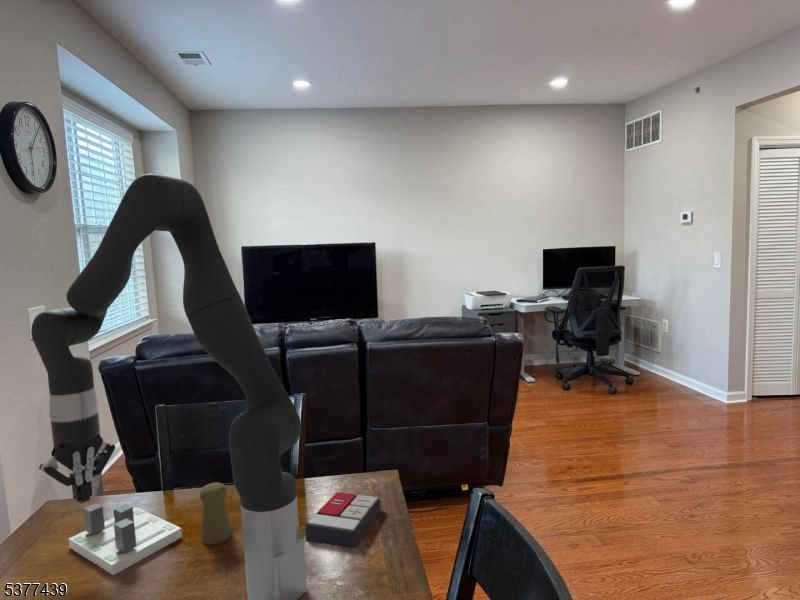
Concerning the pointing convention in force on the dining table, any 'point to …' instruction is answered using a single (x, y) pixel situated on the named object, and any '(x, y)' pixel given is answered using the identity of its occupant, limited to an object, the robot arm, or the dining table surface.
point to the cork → (214, 514)
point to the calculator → (343, 520)
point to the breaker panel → (149, 539)
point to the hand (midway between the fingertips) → (83, 500)
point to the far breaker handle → (94, 518)
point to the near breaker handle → (125, 535)
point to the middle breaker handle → (123, 513)
